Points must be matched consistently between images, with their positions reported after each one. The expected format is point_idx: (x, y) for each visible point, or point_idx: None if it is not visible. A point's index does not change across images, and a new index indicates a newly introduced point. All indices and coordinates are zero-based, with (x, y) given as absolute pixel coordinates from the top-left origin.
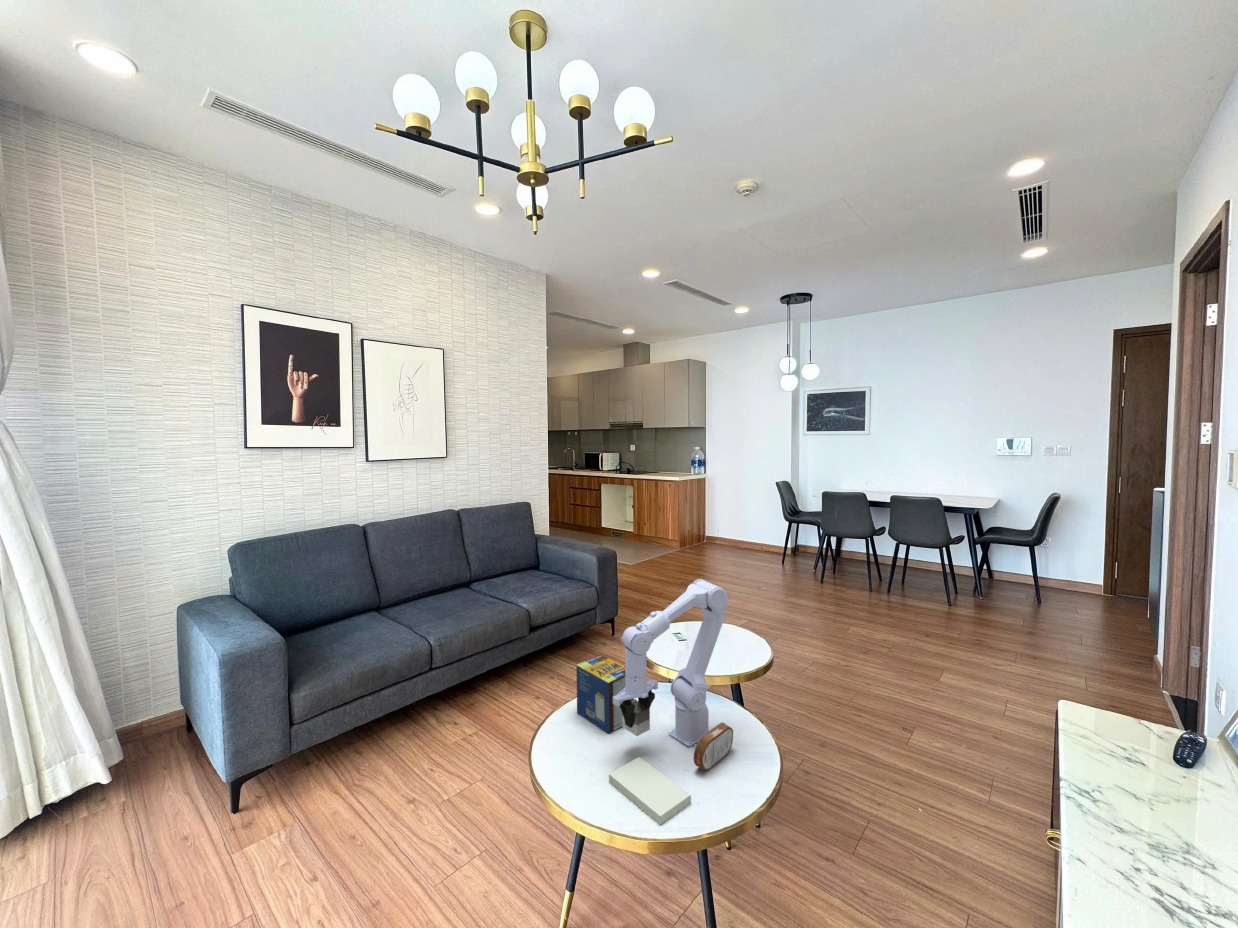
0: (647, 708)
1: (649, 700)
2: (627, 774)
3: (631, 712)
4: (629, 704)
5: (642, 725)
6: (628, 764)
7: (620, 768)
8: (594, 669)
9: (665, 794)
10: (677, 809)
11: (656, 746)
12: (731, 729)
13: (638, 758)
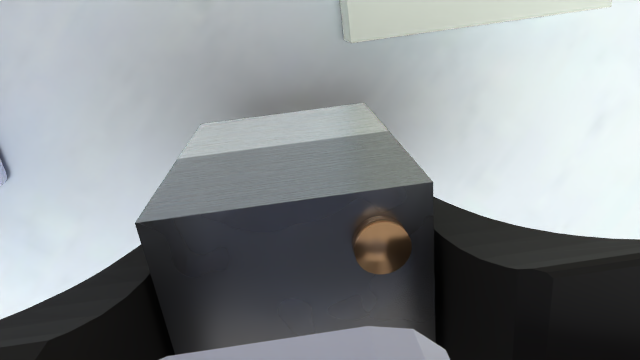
0: (179, 228)
1: (73, 325)
2: None
3: (511, 235)
4: (616, 354)
5: (297, 133)
6: (454, 15)
7: (520, 11)
8: None
9: None
10: None
11: (148, 123)
12: None
13: (362, 30)
